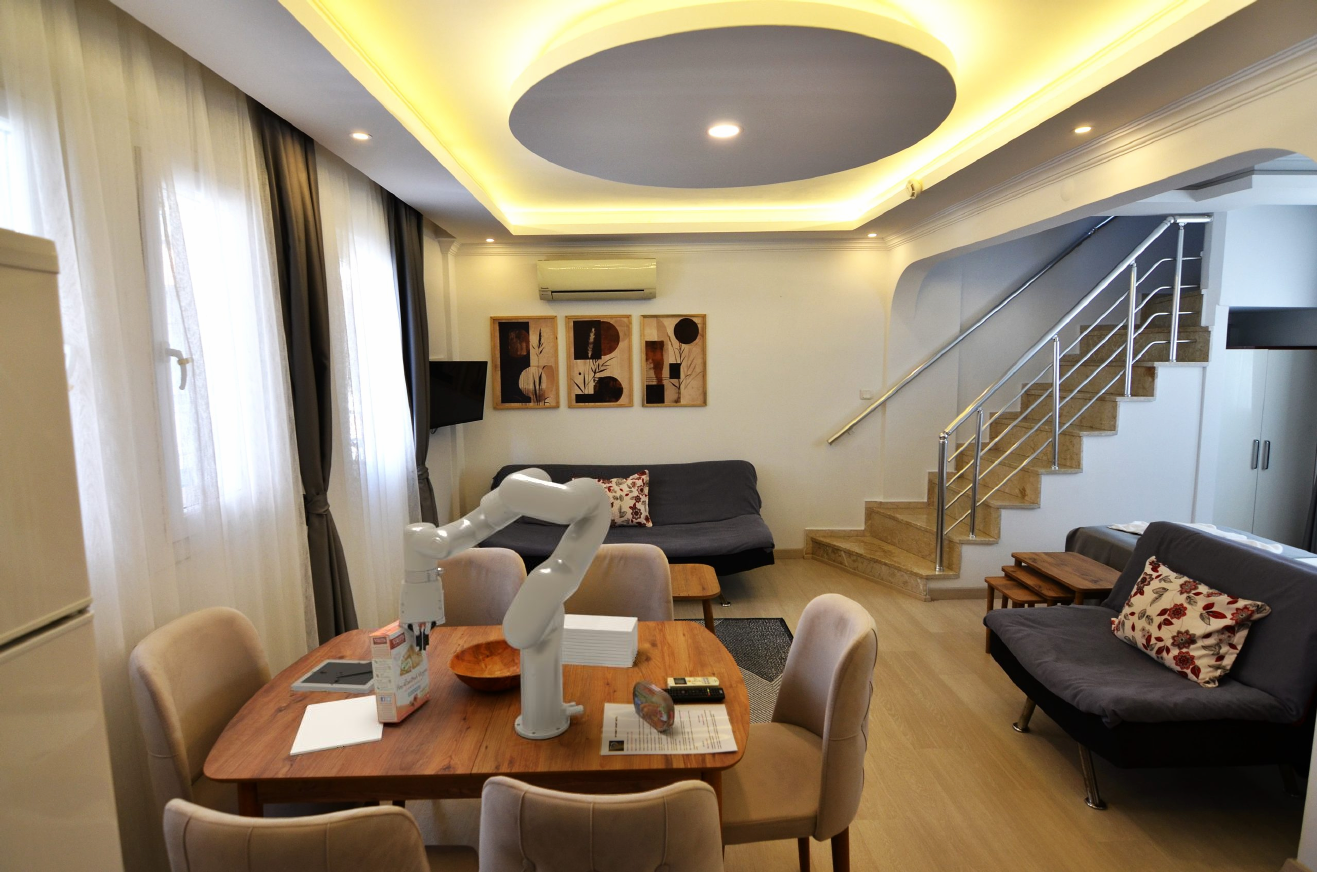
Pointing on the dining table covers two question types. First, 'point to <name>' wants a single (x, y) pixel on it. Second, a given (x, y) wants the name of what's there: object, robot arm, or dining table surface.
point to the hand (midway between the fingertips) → (422, 648)
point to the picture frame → (338, 677)
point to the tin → (653, 705)
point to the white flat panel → (338, 725)
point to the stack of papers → (599, 640)
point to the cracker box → (398, 672)
